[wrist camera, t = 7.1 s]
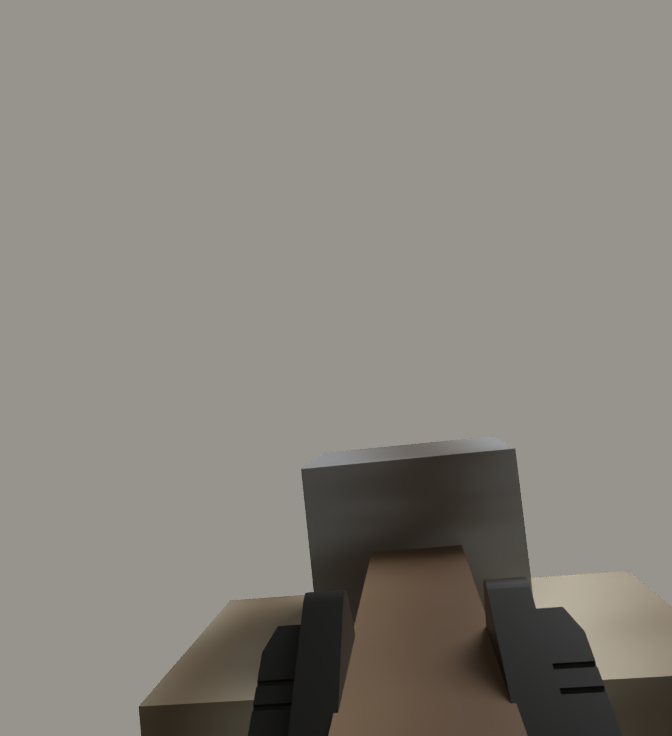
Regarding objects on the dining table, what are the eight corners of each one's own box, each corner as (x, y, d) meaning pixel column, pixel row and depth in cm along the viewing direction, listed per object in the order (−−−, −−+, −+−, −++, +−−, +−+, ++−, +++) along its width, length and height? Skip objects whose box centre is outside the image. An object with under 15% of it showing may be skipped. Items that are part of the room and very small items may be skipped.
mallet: (21, 1487, 4) (-38, 703, 4) (339, 592, 23) (324, 452, 23) (1043, 1575, 4) (901, 649, 4) (509, 579, 22) (491, 436, 23)
